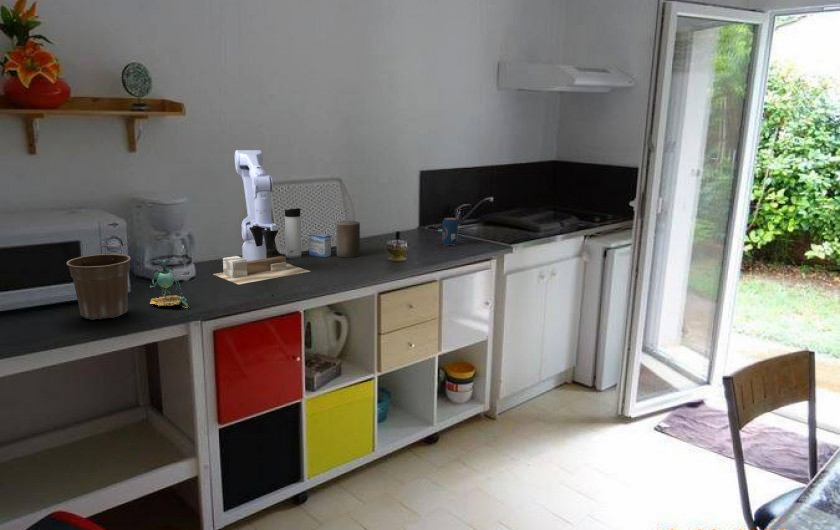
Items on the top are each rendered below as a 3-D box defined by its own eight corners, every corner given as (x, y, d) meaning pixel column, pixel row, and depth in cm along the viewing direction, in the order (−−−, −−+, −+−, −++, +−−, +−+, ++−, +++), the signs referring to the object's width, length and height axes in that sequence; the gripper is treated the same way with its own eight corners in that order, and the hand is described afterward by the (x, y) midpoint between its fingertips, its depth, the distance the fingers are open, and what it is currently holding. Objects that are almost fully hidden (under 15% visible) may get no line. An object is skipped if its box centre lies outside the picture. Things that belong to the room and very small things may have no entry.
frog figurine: (165, 315, 191) (159, 264, 189) (141, 307, 204) (135, 260, 202) (197, 308, 198) (191, 259, 195) (172, 301, 211) (166, 255, 208)
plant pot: (59, 321, 183) (52, 264, 179) (94, 305, 199) (89, 252, 195) (114, 325, 181) (109, 267, 177) (145, 308, 197) (141, 255, 193)
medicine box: (308, 255, 272) (308, 234, 270) (315, 253, 276) (315, 232, 274) (324, 257, 268) (324, 236, 266) (331, 255, 272) (331, 234, 270)
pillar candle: (362, 257, 271) (363, 220, 267) (339, 258, 267) (339, 221, 264) (356, 252, 279) (356, 216, 276) (333, 253, 276) (333, 217, 272)
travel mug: (293, 259, 264) (292, 209, 259) (282, 257, 267) (281, 207, 263) (305, 256, 268) (304, 207, 264) (294, 254, 272) (293, 206, 268)
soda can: (439, 243, 300) (439, 217, 298) (452, 242, 303) (453, 216, 301) (446, 246, 294) (446, 220, 292) (459, 245, 297) (460, 219, 295)
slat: (243, 272, 236) (242, 262, 236) (281, 266, 247) (281, 255, 246) (247, 274, 234) (247, 263, 233) (286, 267, 245) (285, 257, 244)
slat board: (212, 276, 234) (211, 257, 232) (283, 265, 254) (283, 247, 252) (238, 287, 222) (237, 266, 220) (310, 273, 241) (310, 255, 240)
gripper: (242, 208, 238) (243, 245, 241) (263, 213, 228) (265, 252, 231) (259, 207, 243) (261, 243, 246) (281, 211, 233) (282, 249, 236)
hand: (264, 247), depth 239 cm, fingers open, 6 cm apart
